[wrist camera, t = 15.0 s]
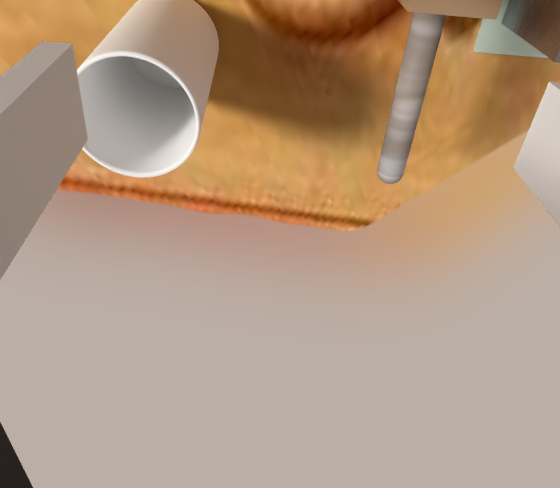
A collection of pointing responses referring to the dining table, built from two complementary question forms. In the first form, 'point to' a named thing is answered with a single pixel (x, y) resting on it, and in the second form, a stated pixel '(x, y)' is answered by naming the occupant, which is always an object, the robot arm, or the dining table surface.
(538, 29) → the grey slotted block
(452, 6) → the peg stand
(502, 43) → the mat
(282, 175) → the dining table surface
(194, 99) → the cup
